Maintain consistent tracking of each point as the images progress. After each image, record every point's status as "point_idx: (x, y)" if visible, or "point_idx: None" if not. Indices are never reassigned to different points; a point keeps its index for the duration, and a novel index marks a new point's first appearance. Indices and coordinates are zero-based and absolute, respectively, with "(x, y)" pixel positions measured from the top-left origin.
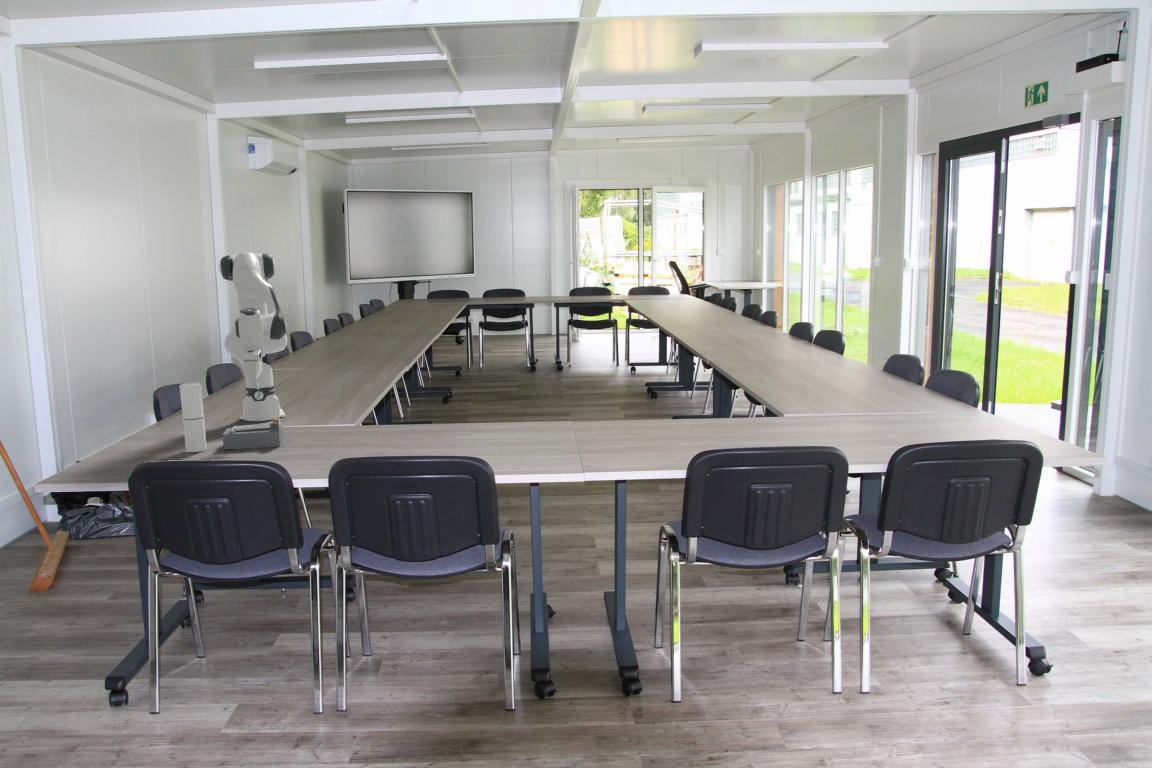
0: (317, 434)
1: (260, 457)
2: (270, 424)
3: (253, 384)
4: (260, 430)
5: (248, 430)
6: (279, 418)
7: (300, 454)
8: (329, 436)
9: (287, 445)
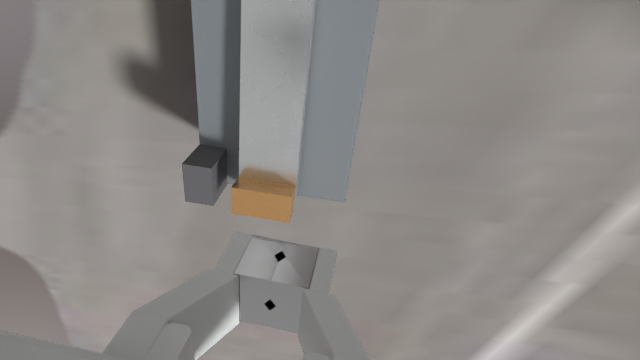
0: (385, 276)
1: (58, 64)
2: (183, 164)
3: (221, 273)
4: None
5: None
6: (270, 218)
7: (94, 198)
8: None
9: None
